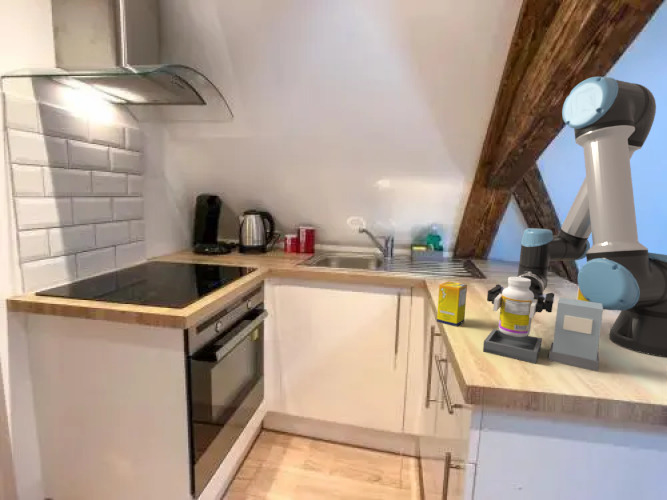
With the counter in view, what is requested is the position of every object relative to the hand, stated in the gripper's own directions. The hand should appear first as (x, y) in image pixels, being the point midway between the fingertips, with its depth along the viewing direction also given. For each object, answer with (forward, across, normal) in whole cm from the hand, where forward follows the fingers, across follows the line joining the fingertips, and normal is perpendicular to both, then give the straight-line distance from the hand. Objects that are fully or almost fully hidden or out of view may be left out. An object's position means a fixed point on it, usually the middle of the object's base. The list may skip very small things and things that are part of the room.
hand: (513, 308), depth 84 cm
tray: (-5, 0, +11) cm, 12 cm away
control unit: (-7, +12, +11) cm, 18 cm away
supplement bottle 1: (-5, 0, +7) cm, 9 cm away
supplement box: (-17, -18, +12) cm, 27 cm away
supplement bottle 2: (-64, +14, +12) cm, 66 cm away
